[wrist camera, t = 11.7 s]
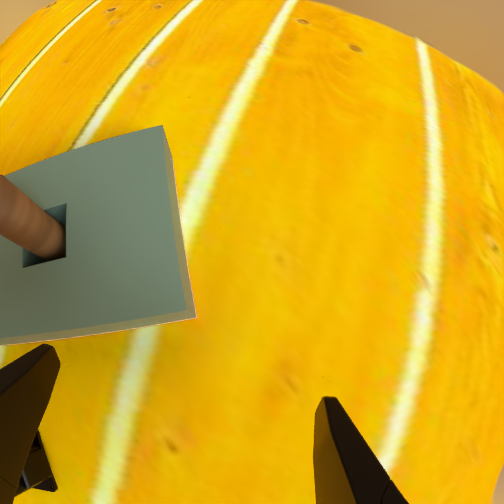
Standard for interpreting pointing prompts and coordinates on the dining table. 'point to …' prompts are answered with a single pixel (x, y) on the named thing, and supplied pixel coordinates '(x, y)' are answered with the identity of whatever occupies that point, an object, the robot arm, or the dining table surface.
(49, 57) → the dining table surface
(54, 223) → the pin
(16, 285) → the board
